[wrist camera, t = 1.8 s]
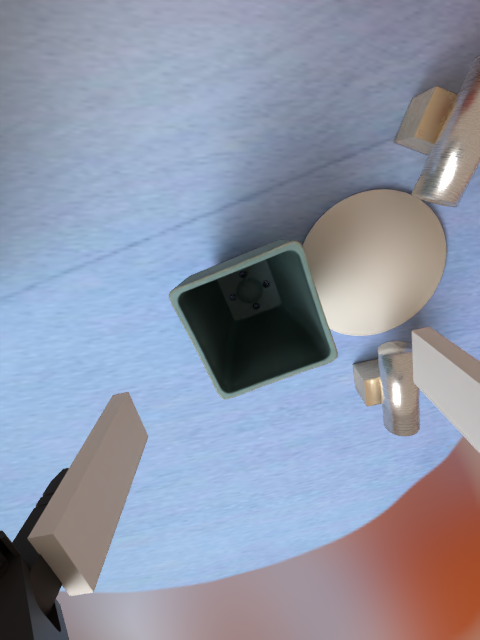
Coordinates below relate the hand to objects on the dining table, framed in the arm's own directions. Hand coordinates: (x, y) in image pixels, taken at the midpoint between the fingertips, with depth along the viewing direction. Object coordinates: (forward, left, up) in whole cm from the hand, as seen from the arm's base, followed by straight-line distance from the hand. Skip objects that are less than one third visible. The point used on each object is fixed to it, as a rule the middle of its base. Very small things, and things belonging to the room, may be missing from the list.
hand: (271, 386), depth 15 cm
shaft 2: (+1, +18, -15) cm, 23 cm away
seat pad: (+6, +9, -15) cm, 19 cm away
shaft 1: (+14, +4, -15) cm, 21 cm away
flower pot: (0, 0, -16) cm, 16 cm away
